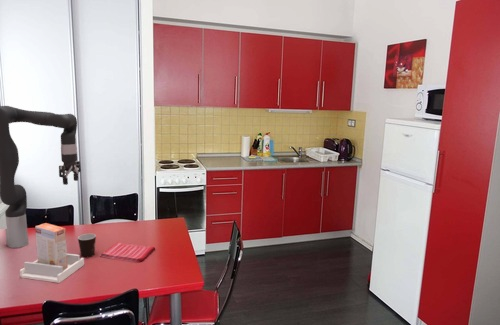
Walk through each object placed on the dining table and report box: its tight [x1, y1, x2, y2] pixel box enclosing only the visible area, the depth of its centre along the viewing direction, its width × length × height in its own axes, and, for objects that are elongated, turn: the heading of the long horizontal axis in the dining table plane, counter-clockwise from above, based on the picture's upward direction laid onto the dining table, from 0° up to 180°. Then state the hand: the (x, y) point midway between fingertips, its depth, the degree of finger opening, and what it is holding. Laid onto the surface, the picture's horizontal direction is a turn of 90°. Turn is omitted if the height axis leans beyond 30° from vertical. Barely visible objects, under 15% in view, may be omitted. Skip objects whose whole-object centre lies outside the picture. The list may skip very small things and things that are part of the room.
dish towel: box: [99, 242, 156, 263], centre depth 197 cm, size 17×24×3 cm
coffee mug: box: [77, 233, 97, 258], centre depth 194 cm, size 12×9×10 cm
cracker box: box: [34, 222, 68, 271], centre depth 173 cm, size 14×6×21 cm, turn 63°
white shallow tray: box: [19, 253, 85, 284], centre depth 175 cm, size 20×18×6 cm
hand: (70, 182), depth 196 cm, fingers open, 8 cm apart
